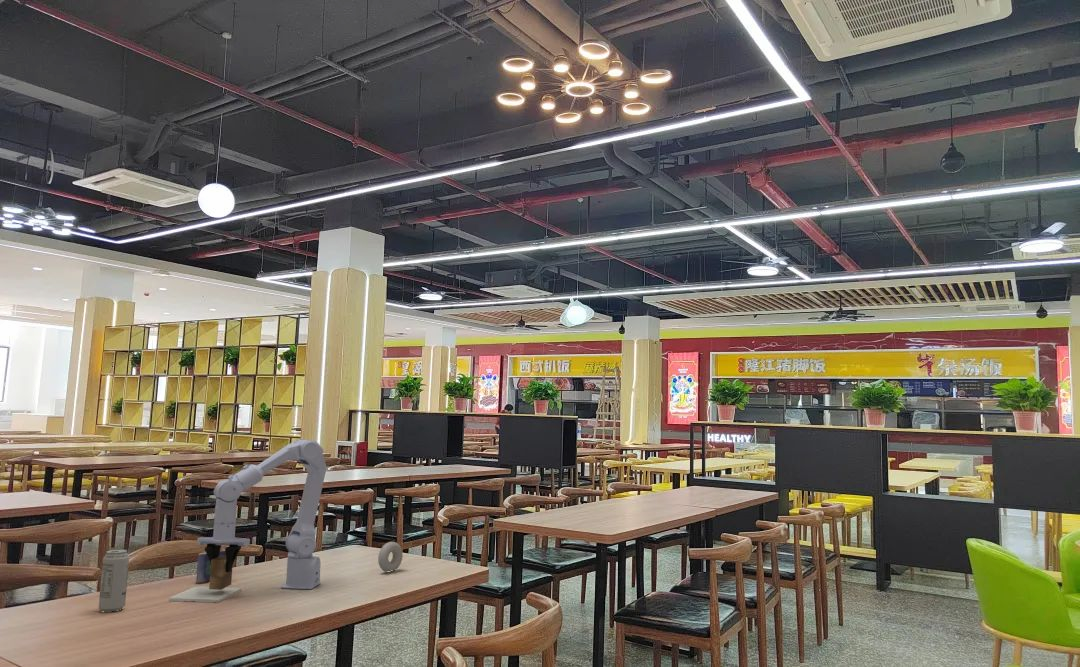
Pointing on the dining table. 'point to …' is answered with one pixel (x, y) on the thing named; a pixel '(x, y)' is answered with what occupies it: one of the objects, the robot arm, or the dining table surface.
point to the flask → (205, 567)
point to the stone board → (204, 594)
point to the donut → (384, 555)
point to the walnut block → (219, 574)
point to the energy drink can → (114, 580)
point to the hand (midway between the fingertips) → (221, 571)
